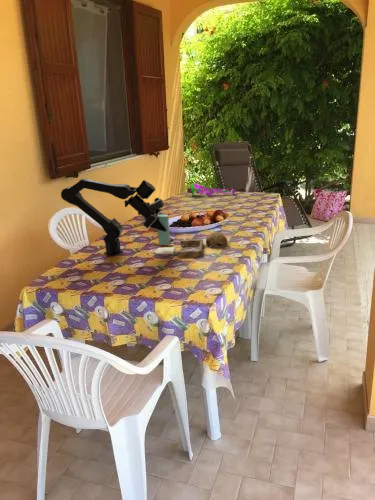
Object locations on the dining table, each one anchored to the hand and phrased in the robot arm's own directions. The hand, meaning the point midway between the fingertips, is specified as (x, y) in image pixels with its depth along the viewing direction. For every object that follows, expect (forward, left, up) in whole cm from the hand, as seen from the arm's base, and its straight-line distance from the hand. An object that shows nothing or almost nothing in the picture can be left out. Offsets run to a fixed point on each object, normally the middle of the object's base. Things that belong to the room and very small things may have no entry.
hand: (166, 229), depth 196 cm
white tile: (-1, +1, -10) cm, 11 cm away
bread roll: (+18, -15, -11) cm, 26 cm away
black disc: (-1, -7, -10) cm, 13 cm away
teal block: (-1, +1, -7) cm, 7 cm away
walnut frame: (+5, -9, -10) cm, 15 cm away
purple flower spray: (+119, +49, -11) cm, 129 cm away
